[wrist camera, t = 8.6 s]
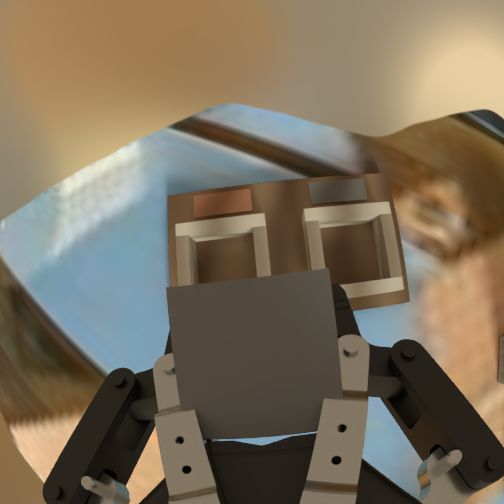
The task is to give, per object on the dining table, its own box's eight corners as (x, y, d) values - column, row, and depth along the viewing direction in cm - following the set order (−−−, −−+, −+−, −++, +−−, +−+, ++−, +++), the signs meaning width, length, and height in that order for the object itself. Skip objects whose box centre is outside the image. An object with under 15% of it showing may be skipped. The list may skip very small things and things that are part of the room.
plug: (302, 291, 18) (328, 268, 8) (310, 365, 17) (344, 426, 7) (227, 300, 18) (166, 287, 8) (235, 374, 17) (185, 438, 7)
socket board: (382, 178, 33) (394, 161, 28) (404, 302, 30) (422, 300, 25) (171, 200, 34) (157, 185, 30) (178, 327, 31) (162, 329, 27)
